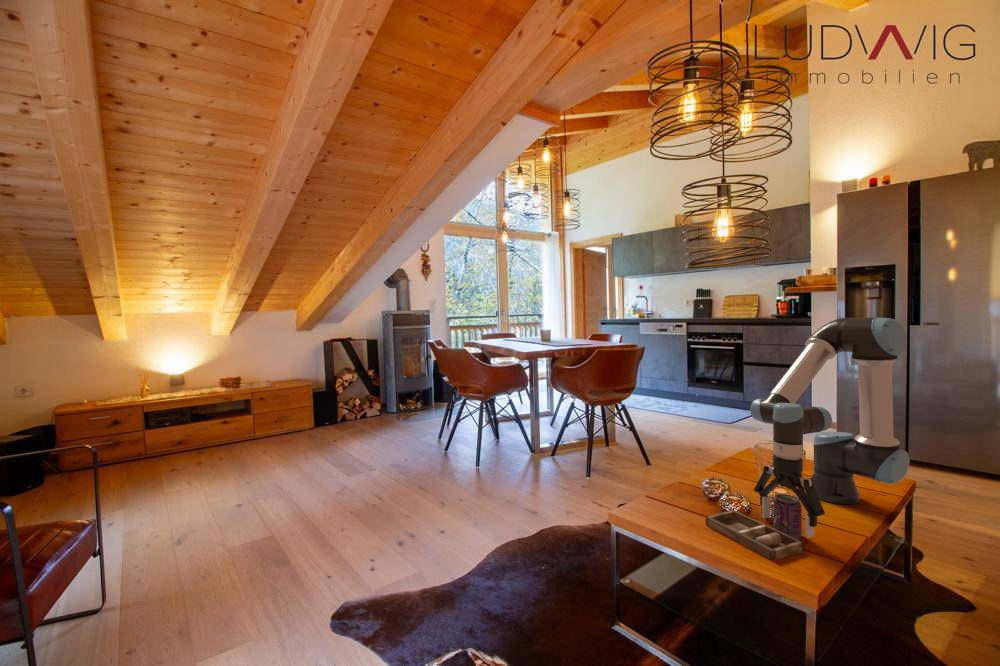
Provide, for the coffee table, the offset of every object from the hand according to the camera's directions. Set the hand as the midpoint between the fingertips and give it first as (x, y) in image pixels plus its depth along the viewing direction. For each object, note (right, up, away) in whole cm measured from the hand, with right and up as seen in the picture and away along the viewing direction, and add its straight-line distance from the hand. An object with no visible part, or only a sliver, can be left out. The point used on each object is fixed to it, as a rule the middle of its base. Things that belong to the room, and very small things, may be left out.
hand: (786, 526), depth 136 cm
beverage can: (0, -4, 0) cm, 4 cm away
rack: (-11, -4, -1) cm, 12 cm away
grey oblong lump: (-9, -3, -6) cm, 11 cm away
